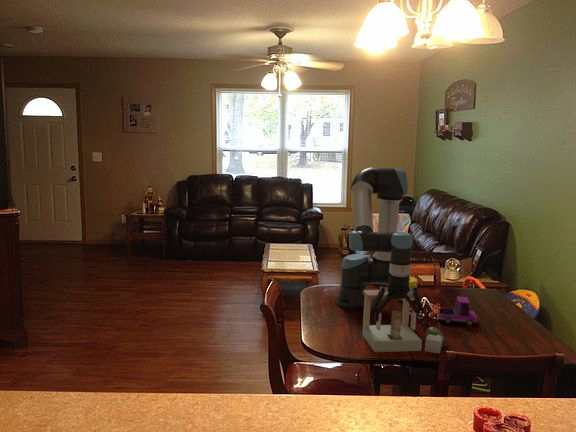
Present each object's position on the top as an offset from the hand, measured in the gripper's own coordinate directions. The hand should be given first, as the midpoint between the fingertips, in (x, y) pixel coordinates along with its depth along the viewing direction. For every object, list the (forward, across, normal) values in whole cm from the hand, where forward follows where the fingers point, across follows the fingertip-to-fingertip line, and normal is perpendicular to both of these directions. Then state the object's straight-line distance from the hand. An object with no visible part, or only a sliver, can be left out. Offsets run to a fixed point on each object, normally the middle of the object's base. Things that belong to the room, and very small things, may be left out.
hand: (395, 328), depth 196 cm
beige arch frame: (+3, 0, +9) cm, 10 cm away
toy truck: (+8, +37, +25) cm, 45 cm away
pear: (+8, +18, +3) cm, 20 cm away
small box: (+8, +14, -4) cm, 16 cm away
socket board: (+7, 0, +4) cm, 8 cm away
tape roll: (+8, +26, +57) cm, 63 cm away
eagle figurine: (+8, +10, +20) cm, 23 cm away
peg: (+7, 0, 0) cm, 7 cm away
